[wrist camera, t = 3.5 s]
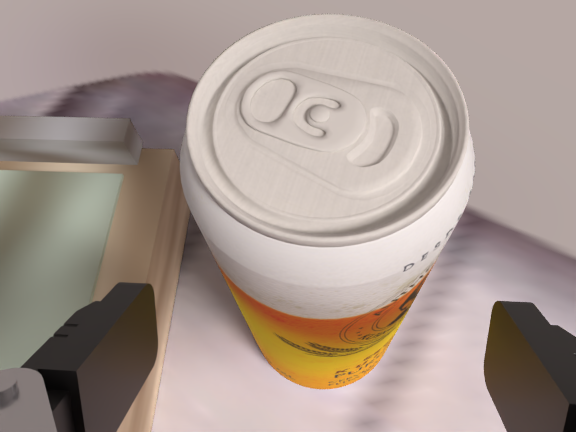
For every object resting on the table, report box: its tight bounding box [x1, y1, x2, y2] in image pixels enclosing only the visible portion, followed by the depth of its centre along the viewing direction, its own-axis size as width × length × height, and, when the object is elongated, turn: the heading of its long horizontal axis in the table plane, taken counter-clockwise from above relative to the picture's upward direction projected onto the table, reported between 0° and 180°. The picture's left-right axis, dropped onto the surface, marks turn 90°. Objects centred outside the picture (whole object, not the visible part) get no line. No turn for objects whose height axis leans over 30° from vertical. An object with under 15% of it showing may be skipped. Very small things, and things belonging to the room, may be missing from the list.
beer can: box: [180, 14, 475, 389], centre depth 16 cm, size 6×6×15 cm
